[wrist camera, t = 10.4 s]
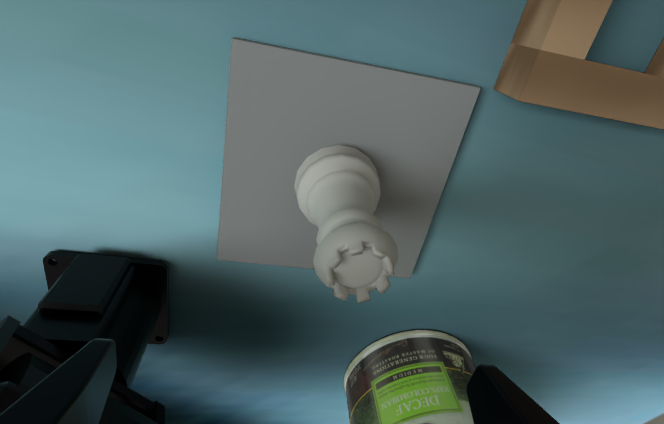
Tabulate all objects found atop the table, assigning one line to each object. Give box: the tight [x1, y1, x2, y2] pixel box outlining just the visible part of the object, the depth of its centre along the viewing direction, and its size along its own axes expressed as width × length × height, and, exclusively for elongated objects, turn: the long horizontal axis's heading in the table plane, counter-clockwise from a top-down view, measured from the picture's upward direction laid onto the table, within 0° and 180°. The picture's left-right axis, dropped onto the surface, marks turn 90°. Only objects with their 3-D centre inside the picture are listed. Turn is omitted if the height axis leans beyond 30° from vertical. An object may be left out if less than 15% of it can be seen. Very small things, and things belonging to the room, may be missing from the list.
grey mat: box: [217, 37, 481, 278], centre depth 21 cm, size 12×12×1 cm
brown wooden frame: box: [494, 0, 664, 129], centre depth 17 cm, size 10×10×2 cm
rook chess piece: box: [294, 145, 398, 303], centre depth 17 cm, size 4×4×8 cm
